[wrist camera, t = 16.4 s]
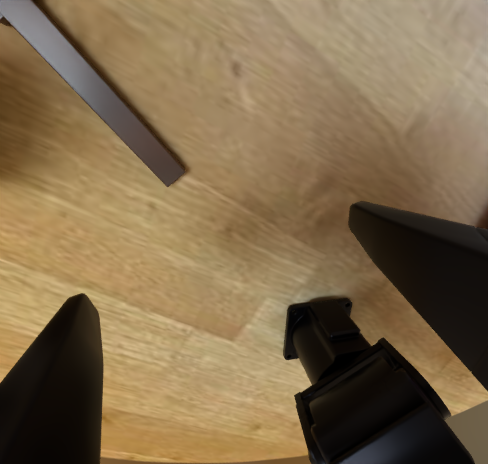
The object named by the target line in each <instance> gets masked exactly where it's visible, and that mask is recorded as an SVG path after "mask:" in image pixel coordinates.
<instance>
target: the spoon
mask: <svg viewBox="0 0 488 464" xmlns="http://www.w3.org/2000/svg"><path fill="white" fill-rule="evenodd" d="M0 23H2V24H4V25H6V26H8V25H9V24H11V25H12V26H13V27H14V28H15V29H16V30H17V31H18V32H19V33H20V34H21V35H22V36H23V37H24V38H25V39H26V41H27V42H28V43H29V44H30V45H31V46H32V47H33V48H34V49H35V50H36V51H37V52H38V53H39V54H40V55H41V56H42V57H43V58H44V59H45V60H46V61H47V62H48V63H49V64H50V65H51V67H52V68H53V69H54V70H55V71H56V72H57V73H58V74H59V75H60V76H61V77H62V78H63V79H64V80H65V81H66V82H67V83H68V84H69V85H70V86H71V87H72V88H73V89H74V90H75V91H76V93H77V94H78V95H79V96H80V97H81V98H82V99H83V100H84V101H85V102H86V103H87V104H88V105H89V106H90V107H91V108H92V109H93V110H94V111H95V112H96V113H97V114H98V115H99V116H100V118H101V119H102V120H103V121H104V122H105V123H106V124H107V125H108V126H109V127H110V128H111V129H112V130H113V131H114V132H115V133H116V134H117V135H118V136H119V137H120V138H121V139H122V140H123V141H124V142H125V144H126V145H127V146H128V147H129V148H130V149H131V150H132V151H133V152H134V153H135V154H136V155H137V156H138V157H139V158H140V159H141V160H142V161H143V162H144V163H145V164H146V165H147V166H148V167H149V168H150V170H151V171H152V172H153V173H154V174H155V175H156V176H157V177H158V178H159V179H160V180H161V181H162V182H163V183H164V184H165V185H166V186H167V187H169V186H170V185H171V184H172V183H173V182H174V181H176V180H177V179H178V178H179V177H180V176H182V175H183V174H184V173H185V168H184V167H183V166H182V165H181V164H180V163H179V162H178V160H177V159H176V158H175V157H174V156H173V155H172V154H171V153H170V152H169V150H168V149H167V148H166V147H165V146H164V145H163V144H162V143H161V141H160V140H159V139H158V138H157V137H156V136H155V135H154V134H153V132H152V131H151V130H150V129H149V128H148V127H147V126H146V125H145V123H144V122H143V121H142V120H141V119H140V118H139V117H138V116H137V114H136V113H135V112H134V111H133V110H132V109H131V108H130V107H129V105H128V104H127V103H126V102H125V101H124V100H123V99H122V98H121V96H120V95H119V94H118V93H117V92H116V91H115V90H114V89H113V88H112V86H111V85H110V84H109V83H108V82H107V81H106V80H105V79H104V77H103V76H102V75H101V74H100V73H99V72H98V71H97V70H96V68H95V67H94V66H93V65H92V64H91V63H90V62H89V61H88V59H87V58H86V57H85V56H84V55H83V54H82V53H81V52H80V50H79V49H78V48H77V47H76V46H75V45H74V44H73V43H72V41H71V40H70V39H69V38H68V37H67V36H66V35H65V34H64V33H63V31H62V30H61V29H60V28H59V27H58V26H57V25H56V24H55V22H54V21H53V20H52V19H51V18H50V17H49V16H48V15H47V13H46V12H45V11H44V10H43V9H42V8H41V7H40V6H39V4H38V3H37V2H36V1H35V0H0Z"/></svg>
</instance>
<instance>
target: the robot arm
mask: <svg viewBox="0 0 488 464" xmlns="http://www.w3.org/2000/svg"><path fill="white" fill-rule="evenodd" d="M349 228H350V230H351V232H352V233H353V234H354V236H355V237H356V239H357V240H358V241H359V243H360V244H361V246H362V247H363V248H364V250H365V251H366V253H367V254H368V256H369V257H370V258H371V260H372V261H373V262H374V263H375V265H376V266H377V267H378V268H379V269H380V270H381V271H382V273H383V274H384V275H385V276H386V277H387V278H388V279H389V280H390V282H391V283H392V284H393V285H394V286H395V287H396V288H397V289H398V291H399V292H400V293H401V294H402V295H403V296H404V297H405V298H406V300H407V301H408V302H409V303H410V304H411V305H412V306H413V307H414V309H415V310H416V311H417V312H418V313H419V314H420V315H421V316H422V318H423V319H424V320H425V321H426V322H427V323H428V324H429V325H430V327H431V328H432V329H433V330H434V331H435V332H436V333H437V334H438V336H439V337H440V338H441V339H442V340H443V341H444V342H445V343H446V345H447V346H448V347H449V348H450V349H451V350H452V351H453V352H454V354H455V355H456V356H457V357H458V358H459V359H460V360H461V361H462V363H463V364H464V365H465V366H466V367H467V368H468V369H469V370H470V371H472V374H473V375H474V376H475V377H476V379H477V380H478V381H479V382H480V383H481V384H482V385H483V386H484V388H485V389H486V390H487V391H488V229H483V228H479V227H476V228H475V227H474V226H470V225H466V224H461V223H457V222H452V221H448V220H444V219H439V218H435V217H430V216H426V215H422V214H417V213H413V212H409V211H404V210H400V209H395V208H391V207H387V206H382V205H378V204H373V203H369V202H365V201H360V202H357V203H354V204H352V205H351V206H350V211H349ZM351 308H352V302H351V301H350V299H348V298H345V299H337V300H330V301H322V302H315V303H307V304H300V305H293V306H290V307H289V308H288V310H287V320H286V330H285V340H284V351H283V356H284V358H285V359H286V360H291V359H297V358H299V359H300V361H301V363H302V365H303V367H304V369H305V371H306V374H307V376H308V378H309V380H310V382H311V384H312V386H310V387H309V388H307V389H306V390H304V391H303V392H301V393H300V392H299V393H297V394H296V395H294V397H295V400H296V404H297V405H296V408H297V412H298V416H299V419H300V423H301V426H302V430H303V434H304V437H305V441H306V444H307V448H308V456H309V460H310V462H311V464H475V463H474V460H473V458H472V456H471V455H470V453H469V452H468V451H467V449H466V448H465V447H464V445H463V444H462V443H461V442H460V440H459V439H458V438H457V436H456V435H455V434H454V432H453V431H452V430H451V429H450V427H449V426H448V425H447V423H446V422H445V421H444V420H445V419H447V418H448V417H450V416H451V413H450V411H449V410H448V408H447V407H446V405H445V404H444V402H443V401H442V400H441V398H440V397H439V396H438V394H437V393H436V392H435V391H434V389H433V388H432V387H431V386H430V384H429V383H428V382H427V381H426V380H425V379H424V377H423V376H422V375H421V374H420V373H419V372H418V371H417V370H416V369H415V368H414V367H413V366H412V365H411V364H410V363H409V362H408V361H407V360H406V359H405V358H404V357H403V356H402V355H401V354H400V353H399V352H398V351H397V350H396V349H395V348H394V347H393V346H392V345H391V344H390V343H389V342H388V341H387V340H386V339H385V338H384V337H383V338H381V339H380V340H378V342H377V343H376V344H374V345H373V346H371V345H370V344H369V343H368V341H367V340H366V339H365V338H364V336H363V335H362V334H361V333H360V329H359V328H358V326H357V325H356V324H355V323H354V321H353V320H352V319H351V318H350V313H351ZM293 310H295V311H293ZM292 311H293V312H292ZM102 395H103V351H102V340H101V329H100V318H99V314H98V311H97V309H96V308H95V307H94V305H93V304H92V302H91V301H90V299H89V298H88V297H87V295H85V294H83V293H81V294H78V295H75V296H72V297H70V298H68V299H67V300H66V302H65V303H64V304H63V305H62V307H61V308H60V309H59V310H58V312H57V313H56V314H55V315H54V317H53V318H52V319H51V320H50V322H49V323H48V324H47V325H46V327H45V328H44V329H43V330H42V332H41V333H40V334H39V335H38V337H37V338H36V339H35V340H34V342H33V343H32V344H31V345H30V347H29V348H28V349H27V350H26V352H25V353H24V354H23V355H22V357H21V358H20V359H19V360H18V362H17V363H16V364H15V365H14V367H13V368H12V369H11V370H10V372H9V373H8V374H7V375H6V377H5V378H4V379H3V380H2V382H1V383H0V464H100V452H101V423H102Z"/></svg>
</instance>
